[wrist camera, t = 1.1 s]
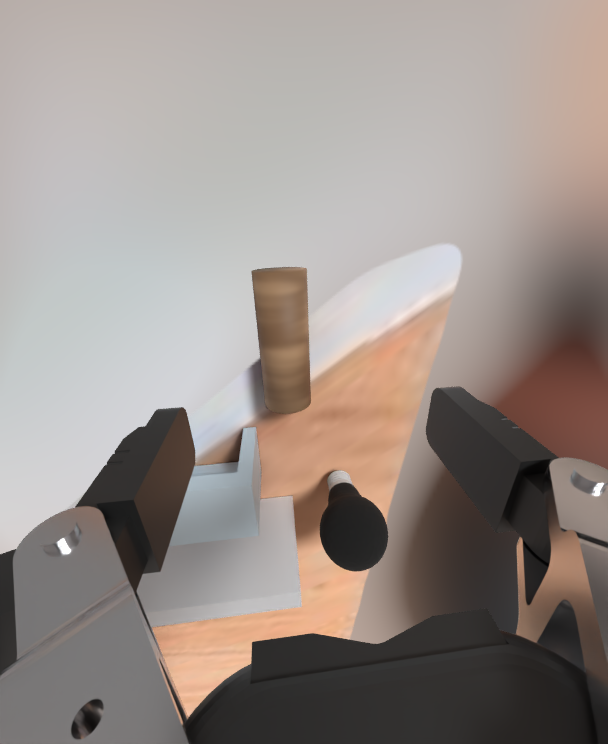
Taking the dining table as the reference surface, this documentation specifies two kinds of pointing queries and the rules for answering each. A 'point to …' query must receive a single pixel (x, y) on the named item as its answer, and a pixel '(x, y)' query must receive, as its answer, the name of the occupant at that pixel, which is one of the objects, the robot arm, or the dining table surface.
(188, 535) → the sleeve block
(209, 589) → the base plate
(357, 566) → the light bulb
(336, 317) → the dining table surface
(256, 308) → the dowel
